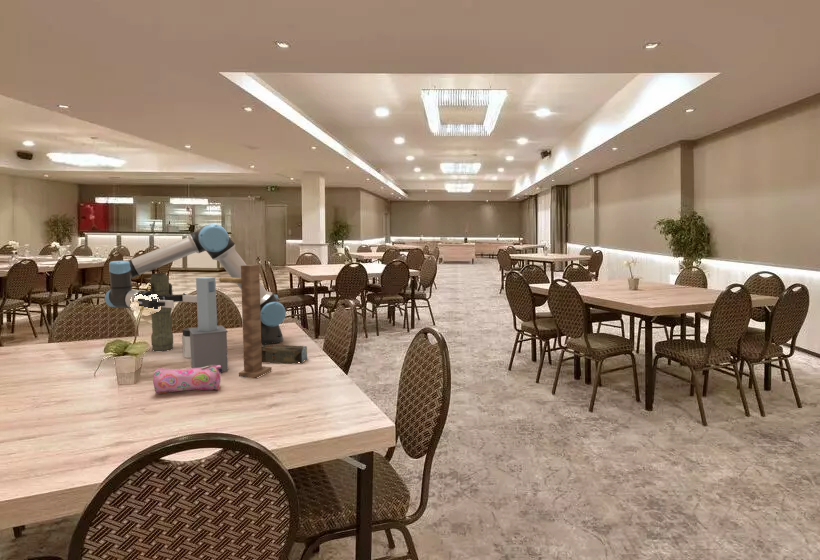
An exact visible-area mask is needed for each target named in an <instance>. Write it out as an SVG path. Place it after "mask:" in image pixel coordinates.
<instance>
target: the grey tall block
mask: <svg viewBox="0 0 820 560" xmlns="http://www.w3.org/2000/svg"><path fill="white" fill-rule="evenodd" d="M216 282H217V281H216V277H214V276H202V277H201V276H200V277H195V285H196V286H195V288H196V296H197V302H196V308H197V309H196V311H197V313H196V314H197V327H198V331H212V330H215V329H217V326H218V316H217V315H218V314H217V312H218V311H217V309H218V308H217V287H216V284H217V283H216Z"/></svg>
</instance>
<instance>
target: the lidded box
mask: <svg viewBox="0 0 820 560" xmlns="http://www.w3.org/2000/svg"><path fill="white" fill-rule="evenodd" d="M196 327H197V328H190V327H188V328H189V331H190V347H191V358H190V366H191V368H201V367H205V366H209V365H216V366H217V365H221V367H220V368H218V369H222V373H224V372H228V371H229V366H228V365H229V364H228V363H229V362H228V361H229V360H228V338H227V337H228V336H227V334H228V330H227V329H226V327H225V326H223V325H217V329H215V330H212V331H198V326H196Z"/></svg>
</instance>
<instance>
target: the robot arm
mask: <svg viewBox="0 0 820 560" xmlns="http://www.w3.org/2000/svg"><path fill="white" fill-rule="evenodd" d="M203 252H206V253H207V254H208V255H209V257H210V258H211V259H212V260H213V261H218V262H219V264H220V265H221V266H222V267H223V269H224V270H225V272H227V274H228V275H229V276H230V278H241V266H242V265H247V264H246V262H245V261H244V259H243V258H242V257H241V255H240V254H239V253H238V252H237V250H236V244H235V242H234V241H233V239H232V238H231V237H230V235H229V234H228V231H227V230H226V229H225V228H224V227H223V226H221V225H219V224H218V223H217V224H216V223H210V224H206V225H204V226H202V227H201V228H199V229H198V230H196V231H193V232H190V233H189V234H188V236H187V237H185V238H183V239H180V240H177V241H174V242H172V243H169V244H167V245H164V246H161V247H159V248H156V249H154V250H151V251H149V252H146V253H144V254H141V255H138V256H136V257H134V258H132V259H130V260H113V261H112V260H111V261H110V262H109V263H108V266H109V267H108V268H109V269H108V271H109V281H110V282H109V283H110V289H109V290H107V292H106V293H105V296H104V301H105V304H106V305H107V306H108V307H110V308H117V309H132V308H131V307H130V299H131V297H132V302H134V298H135V296H137V295H139V294H142V295H143V296H144V295H146V296H148V295H151V294H154V293H153V292H151V291H147V290H140V289H138V290H137V289H132V279H134V278H136V277H138V276H141V275H142V274H145V273H147V272H150V271H154V270H155V269H158V268H160V267H162V266H165V265H167V264H168V265H169V264H170V263H172V262H175V261H177V260H180V259H182V258H185V257H188V256H190V255H192V254H195V253H197V254H201V253H203ZM235 284H236V286H237V287H238V288H239V289H240V290H241V291H242V288H241V283H235ZM140 292H141V293H140ZM136 293H138V294H136ZM134 294H136V295H134ZM157 297H159V299H160V301H159V299H158V302H157V299H153V297H151V299H152V301H149V300H145V299H138V301H139V306H144V307H148V308H153V307H154V309H158V307H160V306H161V307H165V308H172V309H173V308H174V305H175V302H183V303H184V302H185V303H197V295H194V294H193V295H190V294H185V292H184V293H183V294H173V295H158V296H157ZM154 298H155V297H154ZM279 300H280V299H279V295H278V294H274V293H273V292H272V291H271V292H270V291H267V290H266V288H265V287H264V286H263V285H262V283H261V282H260V313H261V345H275V344H277V343H281V342H283V341H284V334H283V333H282V329H281V326H280V325H281V324H282V323H283V322H284V321H285V319H286V316H287V315H286V314H287V312H286V308H285V306H284V305H283V303H281V302H280V301H279ZM174 309H175V308H174Z"/></svg>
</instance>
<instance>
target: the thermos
mask: <svg viewBox="0 0 820 560" xmlns="http://www.w3.org/2000/svg"><path fill="white" fill-rule="evenodd" d="M150 284H151V285H150ZM148 286H151V290H150V291H151V292H153V293H154V294H157V295H174V294H173V285H172V284H171V283H170V280H169V277H168V274H167V273H165V272H157V273H156V272H155V273H153V274H151V277H150V279H149V284H148V285H147V288H146V291H148V290H147V289H148ZM172 309H173V308H165V307H161V310H160V311H159V312H156V313H154V314H151V313H150V314H151V330H152V334H151V336H150V338H151V340H150V341H151V348H152V351H153V350H154V351H153V352H156V351H162V352H168V351H167V350H169V351H172V350H173V349H174V334H173V332H172V330H173V329H172V311H173V310H172ZM171 349H172V350H171Z"/></svg>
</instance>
